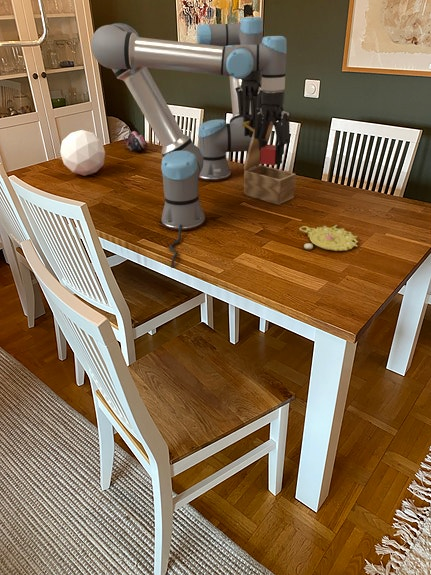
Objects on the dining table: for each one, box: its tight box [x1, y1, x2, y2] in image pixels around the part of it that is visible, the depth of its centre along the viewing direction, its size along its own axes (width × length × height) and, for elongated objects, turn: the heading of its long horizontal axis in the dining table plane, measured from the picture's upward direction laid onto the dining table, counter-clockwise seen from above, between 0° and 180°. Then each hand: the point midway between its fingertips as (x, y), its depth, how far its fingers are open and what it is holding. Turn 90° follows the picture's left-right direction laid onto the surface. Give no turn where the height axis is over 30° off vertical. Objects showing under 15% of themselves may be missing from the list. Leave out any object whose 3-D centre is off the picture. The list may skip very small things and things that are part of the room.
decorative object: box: [299, 224, 359, 252], centre depth 141 cm, size 21×2×20 cm
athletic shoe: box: [121, 130, 149, 153], centre depth 234 cm, size 11×22×12 cm
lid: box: [242, 121, 274, 171], centre depth 170 cm, size 18×10×8 cm
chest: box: [243, 164, 297, 206], centre depth 172 cm, size 17×10×10 cm, turn 45°
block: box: [260, 143, 277, 166], centre depth 154 cm, size 5×5×5 cm
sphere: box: [59, 129, 106, 177], centre depth 200 cm, size 19×20×20 cm
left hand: (270, 161), depth 155 cm, fingers closed on block, 6 cm apart
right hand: (249, 135), depth 170 cm, fingers closed on lid, 2 cm apart
